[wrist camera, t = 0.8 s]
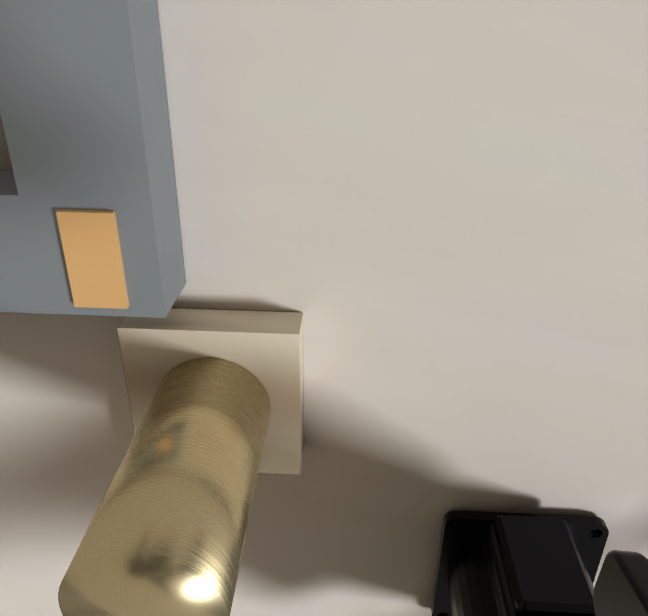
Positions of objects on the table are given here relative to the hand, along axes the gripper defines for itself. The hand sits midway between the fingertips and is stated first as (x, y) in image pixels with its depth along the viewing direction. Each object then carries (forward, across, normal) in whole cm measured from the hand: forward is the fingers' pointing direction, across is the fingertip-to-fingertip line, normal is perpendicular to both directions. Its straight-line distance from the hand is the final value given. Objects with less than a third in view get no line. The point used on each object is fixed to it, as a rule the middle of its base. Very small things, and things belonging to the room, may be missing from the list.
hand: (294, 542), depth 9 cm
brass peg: (+11, +4, +6) cm, 13 cm away
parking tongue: (+12, +4, +6) cm, 14 cm away
